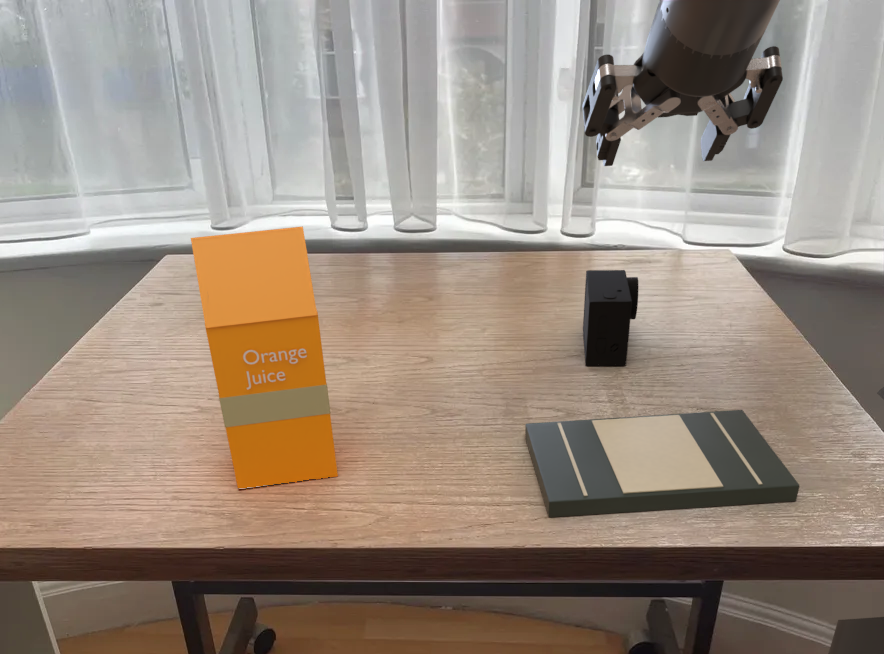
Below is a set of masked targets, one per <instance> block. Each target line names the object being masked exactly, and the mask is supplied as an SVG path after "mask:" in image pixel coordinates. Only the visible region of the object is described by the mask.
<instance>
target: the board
mask: <svg viewBox="0 0 884 654" xmlns="http://www.w3.org/2000/svg"><path fill="white" fill-rule="evenodd" d="M524 426H525V428H524V429H525V432H524V438H525V441H526V445H527V448H528V452H529V455H530V458H531V462H532V465H533V466H532V467H533V469H534V473H535V475H536V479H537V483H538V486H539V489H540V492H541V495H542V499H543V502H544V507H545V510H546V514H547V516H548V518H562V517H563V518H564V517H578V516H592V515H607V514H624V513H636V512H638V513H639V512H651V511H652V512H654V511H668V510H683V509H697V508H698V509H699V508H712V507H714V508H715V507H727V506H728V507H729V506H743V505H757V504H758V505H759V504H772V503H773V504H774V503H790V502H797V499H798V494H799V491H800V484H799V483H798V481H797V480H796V479H795V477H794V476H793V475H792V473H791V472H790V471H789V469H788V468H787V466H786V465H785V464H784V463H783V461H782V460H781V459H780V458H779V456H778V455H777V454H776V452H775V451H774V450H773V449H772V447H771V445H770V444H769V443H768V441H767V440H766V439H765V438H764V436H763V435H762V434H761V432H760V431H759V430H758V428H757V427H756V426H755V424H754V423H753V422H752V421H751V419H750V418H749V417H748V416H747V414H746V413H745V411H744V410H743V409H731V410H715V411H702V412H700V411H698V412H685V413H684V412H683V413H670V414H669V413H667V414H654V415H638V416H624V417H623V416H622V417H621V416H619V417H606V418H605V417H604V418H591V419H575V420H560V421H545V422H528V423H525V425H524Z"/></svg>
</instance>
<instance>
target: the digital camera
mask: <svg viewBox="0 0 884 654" xmlns="http://www.w3.org/2000/svg"><path fill="white" fill-rule="evenodd" d="M584 284H585V285H584V287H585V288H584V303H583V321H582V338H583V340H582V341H583V352H584V364H585V367H625V366H627V360H628V351H629V350H628V349H629V340H630V339H629V338H630V329H631V328H630V327H631V320H636V319H637V312H638V305H639V277H638V276H627V273H626V270H625V269H593V270H592V269H588V270H586V271H585V283H584Z"/></svg>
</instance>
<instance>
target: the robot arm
mask: <svg viewBox="0 0 884 654" xmlns="http://www.w3.org/2000/svg"><path fill="white" fill-rule="evenodd" d="M780 1H781V0H659V1H658V3H657V7H656V11H655V14H654V16H653V19H652V23H651V26H650V29H649V31H648V34H647V39H646V43H645V46H644V50H643V53H642V54H641V55H640V56H639V57H638V58H637V59H636V60H635V61H634V62H633V64H615V61H614V60H615V59H614V56H613V55H612V54H603V55H601V56H599V58H597V61H596V62H595V63H596V64H595V67H594V68H593V73H592V75H591V77H590V81H589V84H588V87H587V91H586V93H585V96H584V99H583V102H582V106H581V107H582V117H583V127H584V135H585V136H586V137H588V138H594V137H596V136H597V137H596V140H595V145H596V146H595V147H596V155H597V159H598V161H602V165H603V167H613V165H614V162H615V159H616V157H617V153H618V150H619V147H620V144H621V141H622V137H623V136H624V135H626V134H627V133H629V132H630V131H631V130H633V129H635V130H636V131H641V130H642V129H643V128H645V127H646V126H647V125H648V124H650V123H651V122H652V121H654V120H655V119H657V118H669V117H674V116H683V117H694V116H698V114H699V113H701V112H704V113H705V115H706V116H707V118H708V119H709V120H708V122H707V125H706V126H705V128H704V131H703V133H702V135H701V138H700V152H701V159H702V162H713V160H714V158H715V156H716V155H719V154H721V152H723V150H724V148H725V147H726V145H727V143H728V141H729V139H730V137H731V135H732V134H735V133H736V132H737V131H738V129H739V127H742V126H746V127H747V128H748V129H750V130H751V129H757V128H759V127H760V126H762V125H763V123H764V121H765V119H766V116H767V114H768V112H769V111H770V108H771V106H772V104H773V101H774V99H775V98H776V95H777V94H778V91H779V89H780V87H781V84H782V82H783V79H784V78H783V70H782V69H783V67H782V59H781V54H780V48H779V47H778V46H775V45H773V46H768V47H766V48H765V49H764V50H763V51H762V53H761V56H760V57H756V58H754V55H755V53H756V51H757V48H759V47H758V46H759V44H760V43H761V40H762V38H763V36H764V35H765V32H766V30H767V28H768V26H769V24H770V22H771V20H772V17H773V16H774V14H775V12H776V10H777V8H778V5H779V3H780ZM745 80H747V81H749V84H748V86H747V89H746V91H745V94H744V96H743V99H740V100H737V101H735V99H734V97H733V95H732V92H734V91H736V90H737V89H738V88H740V87H741V86H742V85H743V84H744V83H745ZM620 93H621V94H620ZM642 102H643V103H644V105H645V106H644V107H642ZM622 113H624V115H623V116H622V117H621V118H620V114H622Z"/></svg>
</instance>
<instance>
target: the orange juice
mask: <svg viewBox="0 0 884 654" xmlns="http://www.w3.org/2000/svg"><path fill="white" fill-rule="evenodd" d="M190 241H191V249H192V254H193V255H192V256H193V259H194V266H195V272H196V279H197V284H198V290H199V296H200V302H201V308H202V313H203V319H204V320H203V321H204V327H205V328H204V329H205V333H206V338H207V343H208V347H209V352H210V358H211V362H212V367H213V372H214V377H215V382H216V387H217V392H218V400H219V405H220V411H221V415H222V420H223V425H224V428H225V432H226V438H227V442H228V446H229V451H230V456H231V461H232V466H233V471H234V477H235V482H236V486H237V489H238V488H247V487H256V486H263V485H273V484H281V483H288V484H290V483H289V482H295V483H298V482H297V481H302V482H304V481H303V480H309V479H316V480H322V479H321V478H323V479H329V478H328V477H330V478H336V477H339V473H338V466H337V465H338V464H337V459H336V451H335V450H336V449H335V442H334V433H333V427H332V426H333V425H332V417H331V413H332V412H331V406H330V405H331V404H330V397H329V390H328V382H327V377H326V369H325V362H324V361H325V360H324V353H323V344H322V337H321V329H320V321H319V314H318V313H319V312H318V310H317V305H316V299H315V293H314V287H313V281H312V280H313V279H312V274H311V269H310V262H309V256H308V255H309V254H308V250H307V244H306V243H307V242H306V238H305V231H304V226H302V225H301V226H295V227H293V226H292V227H285V228H273V229H263V230H254V231H245V232H235V233H225V234H217V235H206V236H196V237H190ZM309 481H310V480H309ZM281 485H282V484H281Z"/></svg>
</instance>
